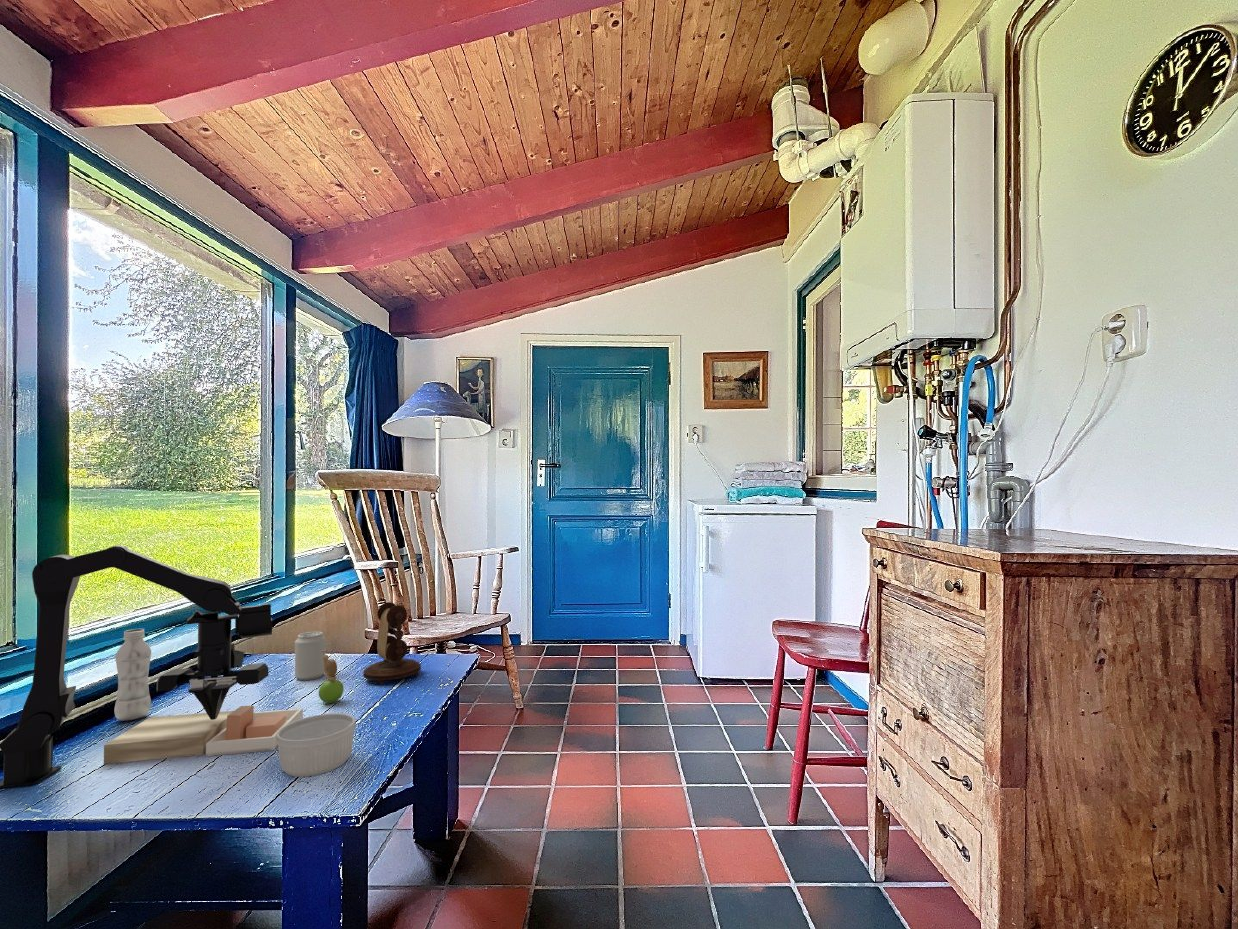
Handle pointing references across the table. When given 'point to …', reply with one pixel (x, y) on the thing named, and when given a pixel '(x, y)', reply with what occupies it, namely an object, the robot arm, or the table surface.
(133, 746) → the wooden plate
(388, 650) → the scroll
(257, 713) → the tray
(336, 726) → the ramekin
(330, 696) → the green maraca
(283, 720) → the tile
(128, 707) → the plastic bottle
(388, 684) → the table surface
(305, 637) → the can
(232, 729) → the tile
